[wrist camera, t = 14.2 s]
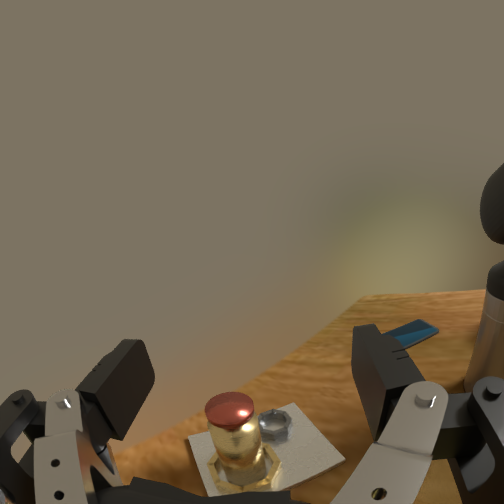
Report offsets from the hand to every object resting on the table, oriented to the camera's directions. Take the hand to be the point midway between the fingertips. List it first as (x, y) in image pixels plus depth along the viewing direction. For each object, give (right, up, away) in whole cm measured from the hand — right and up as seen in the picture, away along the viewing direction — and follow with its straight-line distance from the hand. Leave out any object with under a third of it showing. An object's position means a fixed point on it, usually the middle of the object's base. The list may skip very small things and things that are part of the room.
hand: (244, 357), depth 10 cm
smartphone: (+34, -15, +42) cm, 56 cm away
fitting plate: (+2, -23, +20) cm, 31 cm away
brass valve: (-1, -23, +17) cm, 29 cm away
